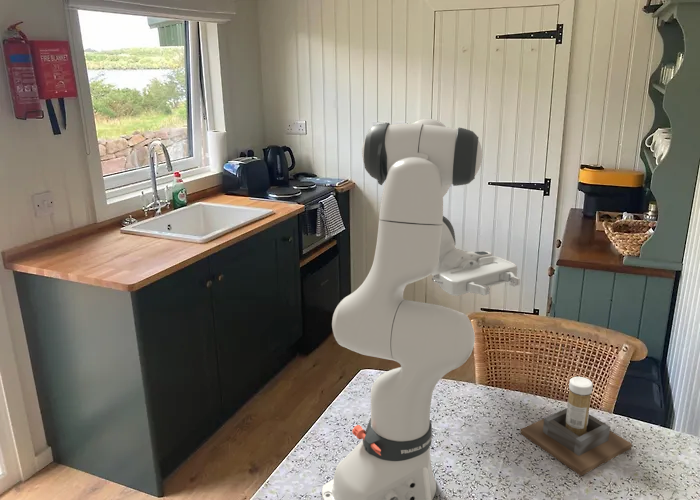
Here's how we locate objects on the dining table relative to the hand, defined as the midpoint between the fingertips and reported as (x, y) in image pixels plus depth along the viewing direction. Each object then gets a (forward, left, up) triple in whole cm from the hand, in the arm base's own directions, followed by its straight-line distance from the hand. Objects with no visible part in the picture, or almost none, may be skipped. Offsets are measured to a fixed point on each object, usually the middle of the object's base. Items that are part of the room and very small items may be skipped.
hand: (502, 287), depth 129 cm
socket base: (+4, -20, -30) cm, 36 cm away
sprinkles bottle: (+4, -20, -29) cm, 35 cm away
